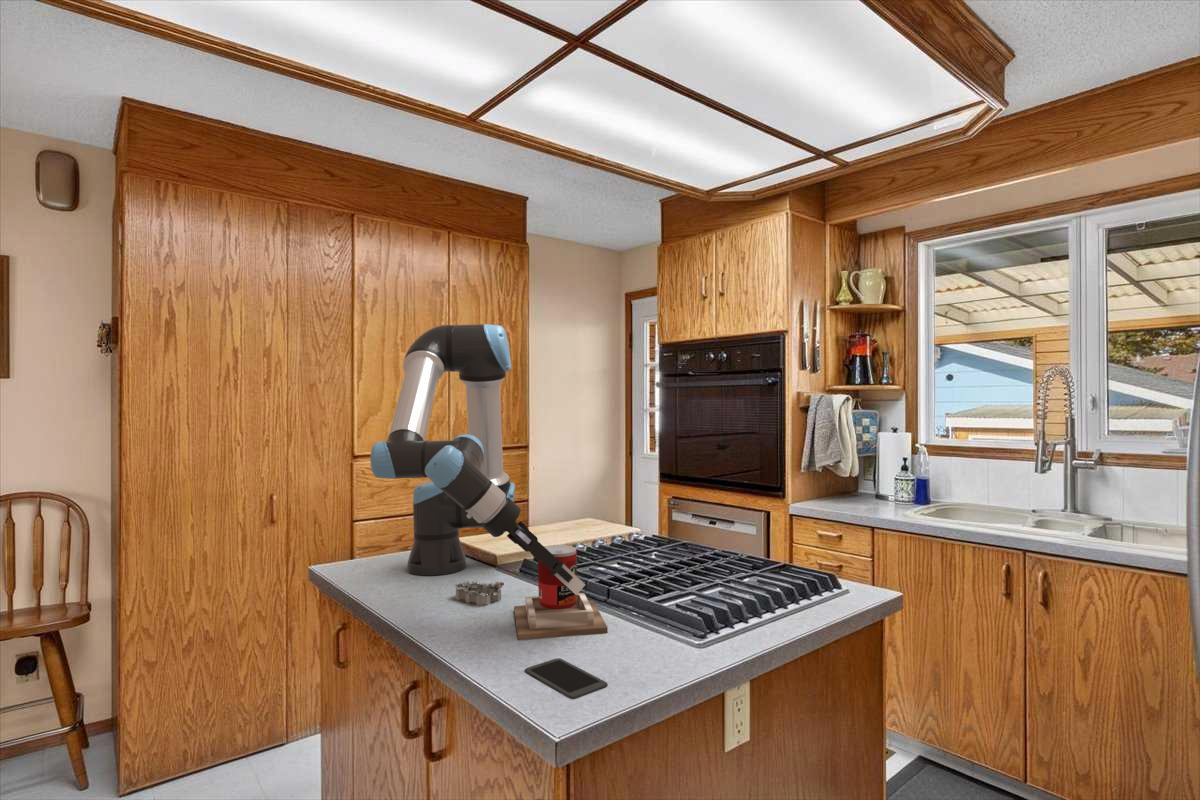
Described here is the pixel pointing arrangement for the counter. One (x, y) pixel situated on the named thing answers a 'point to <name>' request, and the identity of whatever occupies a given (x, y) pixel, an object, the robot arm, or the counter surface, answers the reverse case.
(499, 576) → the counter surface
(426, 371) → the robot arm
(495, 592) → the egg carton
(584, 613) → the socket board
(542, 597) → the canned food
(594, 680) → the cell phone
